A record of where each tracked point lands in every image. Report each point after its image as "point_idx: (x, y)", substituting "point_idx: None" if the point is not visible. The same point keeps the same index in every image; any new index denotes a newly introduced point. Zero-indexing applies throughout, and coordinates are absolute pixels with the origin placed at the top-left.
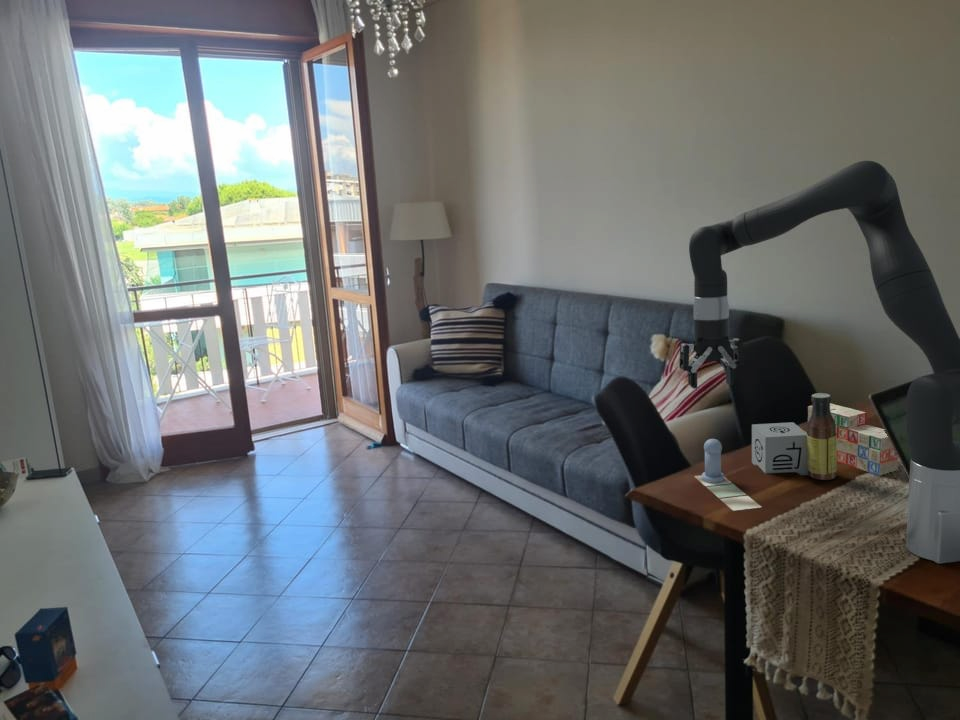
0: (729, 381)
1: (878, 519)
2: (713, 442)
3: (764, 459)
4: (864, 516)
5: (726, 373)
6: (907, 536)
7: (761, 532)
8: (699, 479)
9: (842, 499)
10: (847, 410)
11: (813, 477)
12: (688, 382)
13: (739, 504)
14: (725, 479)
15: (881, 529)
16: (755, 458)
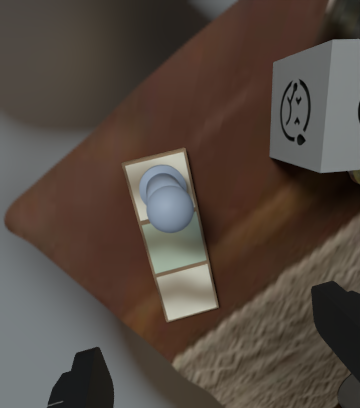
0: (326, 333)
1: None
2: (171, 229)
3: (287, 156)
4: None
5: (356, 327)
6: (349, 401)
7: (193, 364)
8: (133, 185)
9: (346, 258)
10: None
11: (349, 173)
12: (52, 396)
13: (184, 299)
14: (187, 187)
15: None
16: (281, 89)
